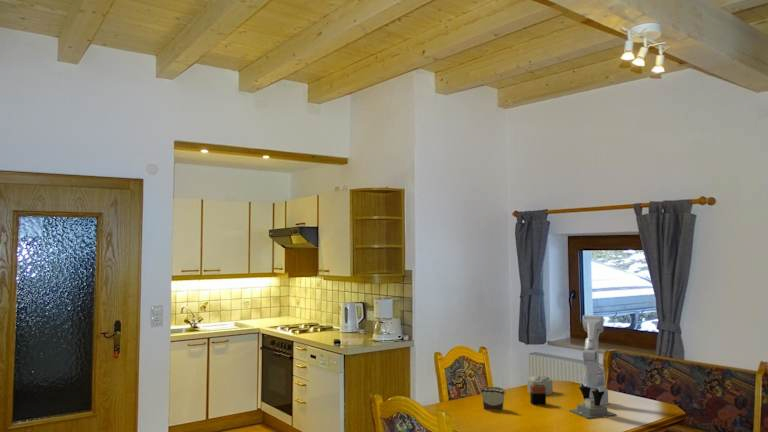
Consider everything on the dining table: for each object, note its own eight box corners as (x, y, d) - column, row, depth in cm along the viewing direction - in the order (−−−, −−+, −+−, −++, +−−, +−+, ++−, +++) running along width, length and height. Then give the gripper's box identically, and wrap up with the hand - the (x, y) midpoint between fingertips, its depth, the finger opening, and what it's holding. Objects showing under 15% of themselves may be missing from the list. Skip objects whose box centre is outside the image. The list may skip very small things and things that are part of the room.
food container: (508, 408, 286) (508, 387, 287) (505, 411, 281) (505, 390, 281) (484, 405, 291) (483, 385, 292) (480, 408, 286) (480, 388, 286)
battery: (546, 404, 292) (545, 384, 293) (532, 405, 292) (532, 385, 292) (543, 402, 296) (542, 382, 297) (530, 402, 296) (529, 383, 297)
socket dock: (596, 407, 285) (596, 400, 285) (616, 415, 272) (616, 407, 272) (569, 411, 280) (568, 403, 280) (587, 418, 267) (587, 410, 267)
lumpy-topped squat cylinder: (525, 391, 322) (525, 375, 322) (547, 389, 324) (547, 374, 325) (534, 395, 311) (533, 379, 312) (556, 394, 314) (556, 377, 314)
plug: (593, 410, 279) (593, 397, 279) (599, 412, 275) (598, 399, 275) (585, 411, 277) (584, 398, 277) (590, 413, 273) (590, 400, 274)
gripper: (574, 372, 283) (575, 400, 282) (594, 378, 269) (595, 408, 268) (586, 371, 285) (587, 399, 284) (606, 377, 271) (607, 406, 270)
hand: (592, 403), depth 276 cm, fingers open, 7 cm apart
